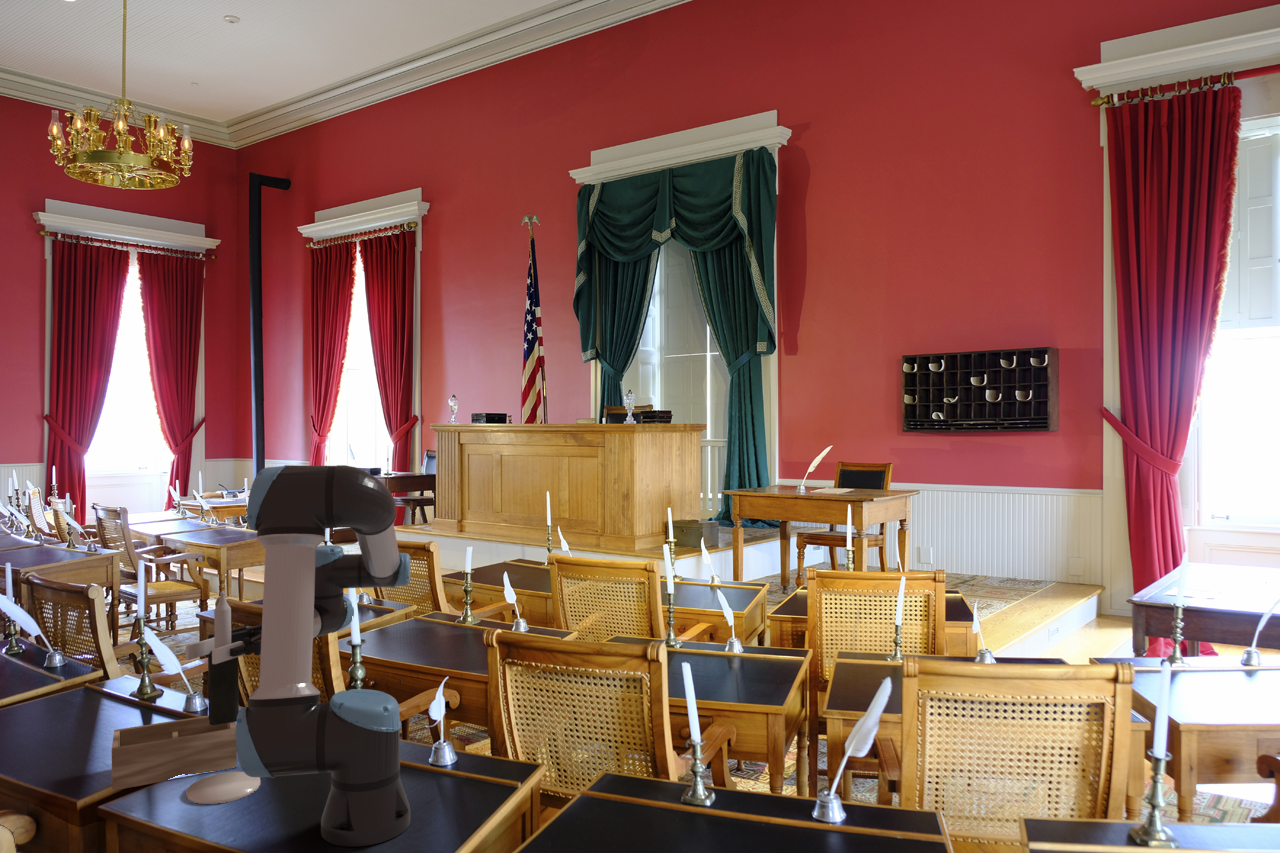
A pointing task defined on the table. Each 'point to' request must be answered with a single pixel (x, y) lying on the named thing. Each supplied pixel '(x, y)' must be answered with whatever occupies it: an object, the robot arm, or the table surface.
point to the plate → (222, 788)
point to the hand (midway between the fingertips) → (200, 654)
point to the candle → (223, 671)
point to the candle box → (171, 751)
